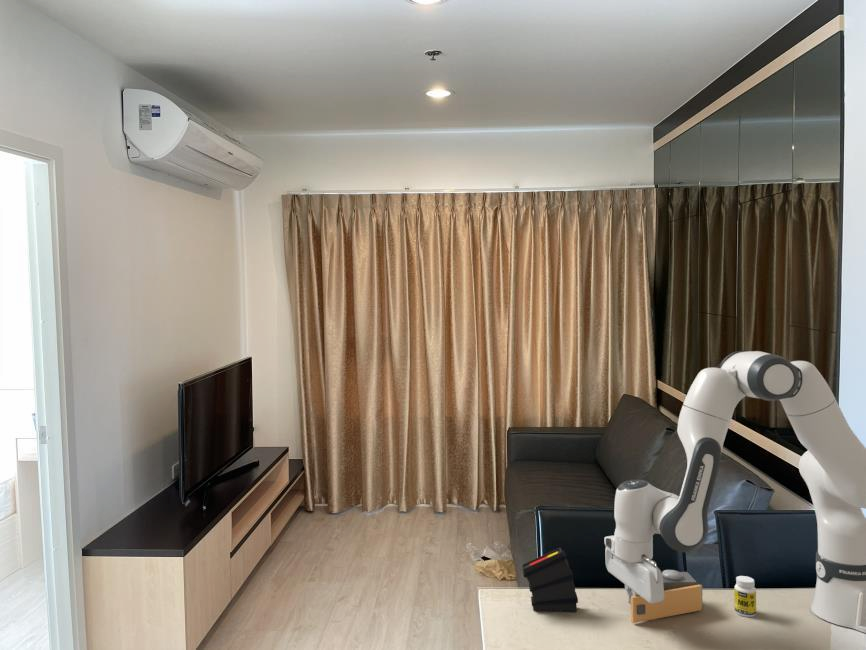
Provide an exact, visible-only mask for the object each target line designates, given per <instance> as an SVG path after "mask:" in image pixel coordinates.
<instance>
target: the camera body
mask: <svg viewBox="0 0 866 650" xmlns="http://www.w3.org/2000/svg"><path fill="white" fill-rule="evenodd" d="M661 573H662V577H663V586H664V591H665V590H671V589H677V588H682V587H688V586H694V585H698V583H697V581H696V580H695V579H694V578H693V577H692V575H691V574H690V573H688V571H678V570H675V569H665V570H662V571H661Z"/></svg>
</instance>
